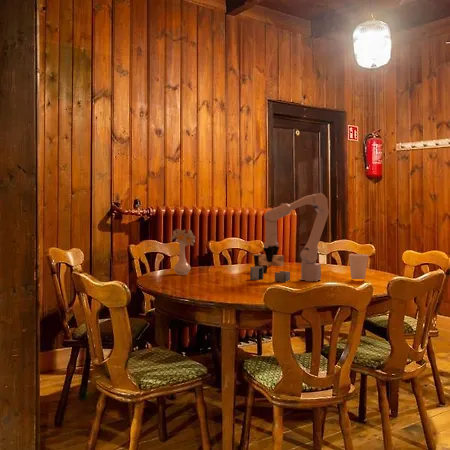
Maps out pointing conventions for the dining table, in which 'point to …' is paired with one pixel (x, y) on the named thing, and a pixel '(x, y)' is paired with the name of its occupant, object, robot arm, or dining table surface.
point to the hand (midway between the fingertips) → (271, 261)
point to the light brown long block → (276, 260)
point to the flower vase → (182, 250)
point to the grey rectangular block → (256, 272)
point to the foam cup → (358, 265)
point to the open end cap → (282, 276)
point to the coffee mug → (256, 262)
